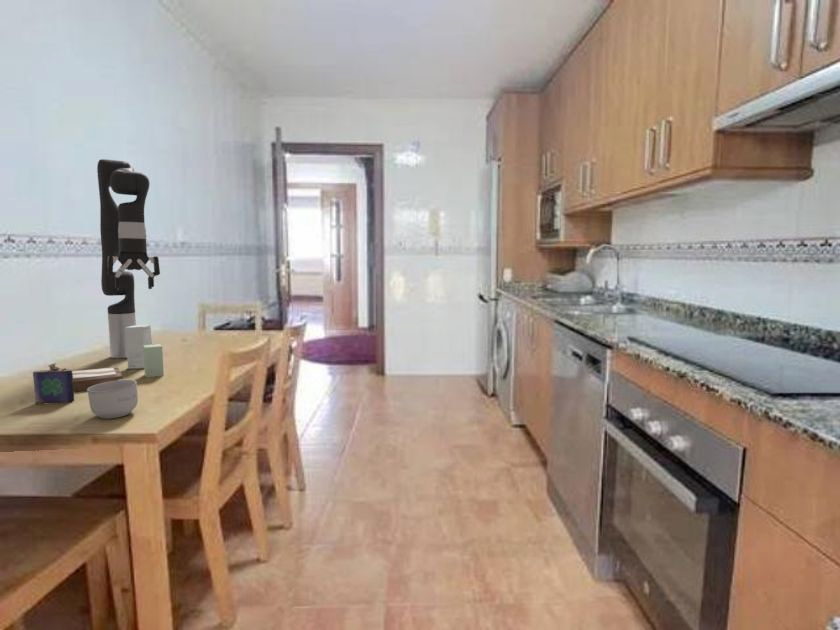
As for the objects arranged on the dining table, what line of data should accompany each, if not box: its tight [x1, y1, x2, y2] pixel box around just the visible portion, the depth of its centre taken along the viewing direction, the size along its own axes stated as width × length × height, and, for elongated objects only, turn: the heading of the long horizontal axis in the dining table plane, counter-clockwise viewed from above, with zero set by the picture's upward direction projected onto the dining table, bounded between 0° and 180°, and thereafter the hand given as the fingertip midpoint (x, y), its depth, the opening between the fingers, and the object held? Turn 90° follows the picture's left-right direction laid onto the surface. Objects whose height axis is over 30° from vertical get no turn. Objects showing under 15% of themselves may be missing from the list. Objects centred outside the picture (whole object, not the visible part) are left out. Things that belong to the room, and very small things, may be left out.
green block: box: [143, 343, 164, 378], centre depth 171 cm, size 5×5×10 cm
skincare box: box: [125, 324, 153, 370], centre depth 184 cm, size 8×6×15 cm
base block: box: [71, 366, 124, 392], centre depth 160 cm, size 14×14×4 cm
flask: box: [32, 362, 75, 404], centre depth 140 cm, size 9×3×11 cm, turn 102°
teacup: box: [86, 378, 139, 420], centre depth 131 cm, size 14×11×8 cm
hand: (134, 289), depth 162 cm, fingers open, 8 cm apart
